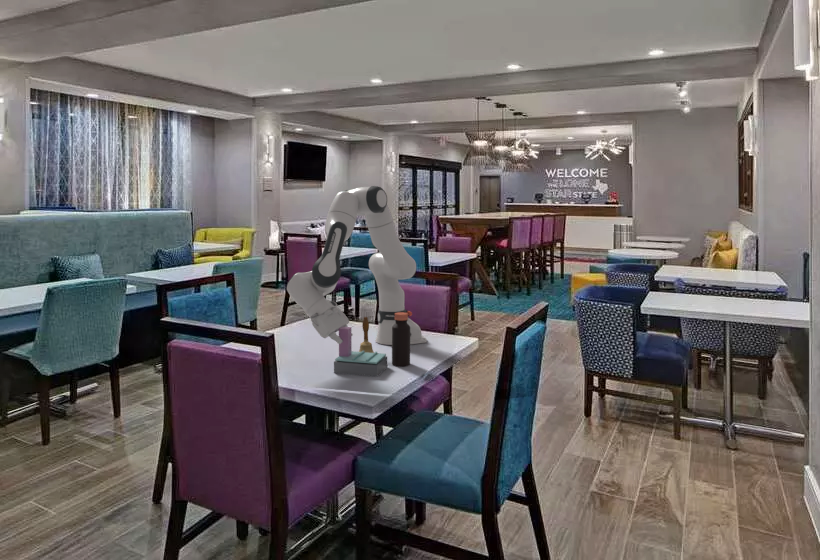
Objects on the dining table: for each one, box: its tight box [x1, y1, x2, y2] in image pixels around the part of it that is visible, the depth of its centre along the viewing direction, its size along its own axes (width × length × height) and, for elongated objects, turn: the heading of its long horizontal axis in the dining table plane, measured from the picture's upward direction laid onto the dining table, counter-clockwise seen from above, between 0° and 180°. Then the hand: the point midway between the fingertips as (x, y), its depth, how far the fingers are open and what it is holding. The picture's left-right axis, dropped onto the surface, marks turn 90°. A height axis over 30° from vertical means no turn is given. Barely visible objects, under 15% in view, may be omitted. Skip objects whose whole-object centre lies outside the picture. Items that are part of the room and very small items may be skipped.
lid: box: [334, 326, 387, 364], centre depth 206 cm, size 15×12×11 cm
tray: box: [333, 355, 388, 378], centre depth 207 cm, size 16×12×5 cm
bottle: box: [391, 312, 411, 368], centre depth 214 cm, size 7×7×20 cm
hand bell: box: [358, 316, 375, 353], centre depth 227 cm, size 8×8×16 cm
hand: (346, 339), depth 207 cm, fingers open, 8 cm apart
